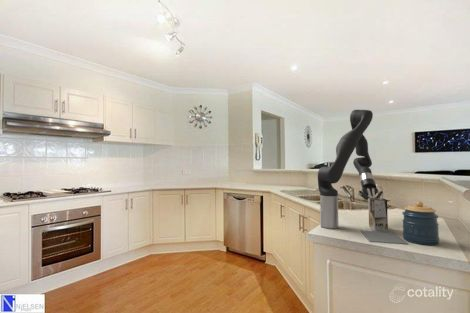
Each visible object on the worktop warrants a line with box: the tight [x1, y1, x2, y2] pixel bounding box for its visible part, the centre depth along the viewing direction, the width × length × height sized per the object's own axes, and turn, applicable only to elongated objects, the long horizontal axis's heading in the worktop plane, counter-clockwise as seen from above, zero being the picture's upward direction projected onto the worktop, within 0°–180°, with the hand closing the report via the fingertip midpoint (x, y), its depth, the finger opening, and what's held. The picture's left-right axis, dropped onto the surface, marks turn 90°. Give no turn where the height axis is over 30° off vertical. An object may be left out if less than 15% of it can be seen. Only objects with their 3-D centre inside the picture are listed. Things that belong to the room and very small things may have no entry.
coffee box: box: [367, 197, 389, 232], centre depth 126 cm, size 9×6×16 cm
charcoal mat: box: [360, 229, 409, 245], centre depth 113 cm, size 15×17×1 cm
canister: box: [401, 201, 440, 246], centre depth 108 cm, size 13×13×18 cm
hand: (373, 205), depth 133 cm, fingers closed
